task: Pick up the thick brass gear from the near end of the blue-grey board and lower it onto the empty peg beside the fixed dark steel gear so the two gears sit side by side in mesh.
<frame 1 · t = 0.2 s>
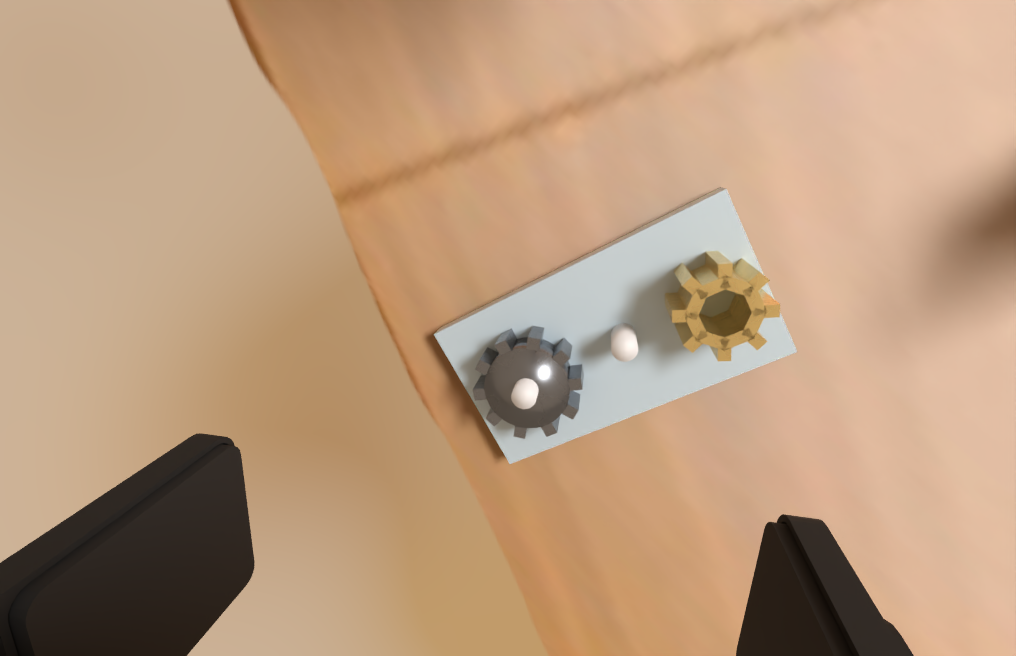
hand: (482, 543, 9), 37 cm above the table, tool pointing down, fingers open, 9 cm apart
brass gear: (711, 295, 41), point 2 cm above the table, touching board
board: (605, 335, 46), on the table
steel gear: (531, 375, 46), resting on board
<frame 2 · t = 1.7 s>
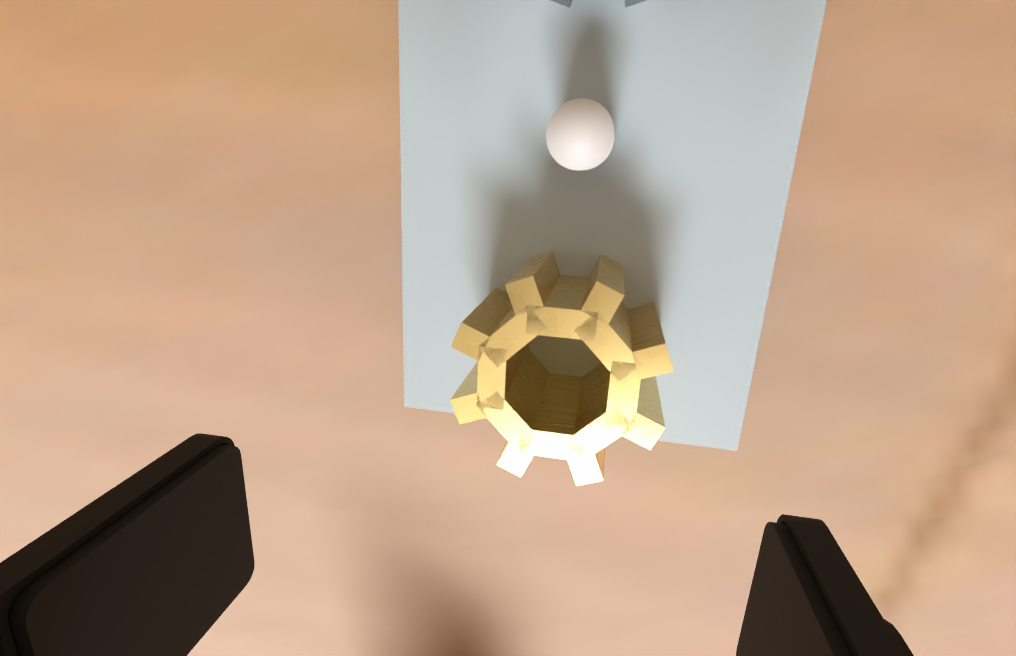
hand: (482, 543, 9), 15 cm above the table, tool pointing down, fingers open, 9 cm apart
brass gear: (569, 337, 21), point 2 cm above the table, touching board
board: (592, 98, 20), on the table
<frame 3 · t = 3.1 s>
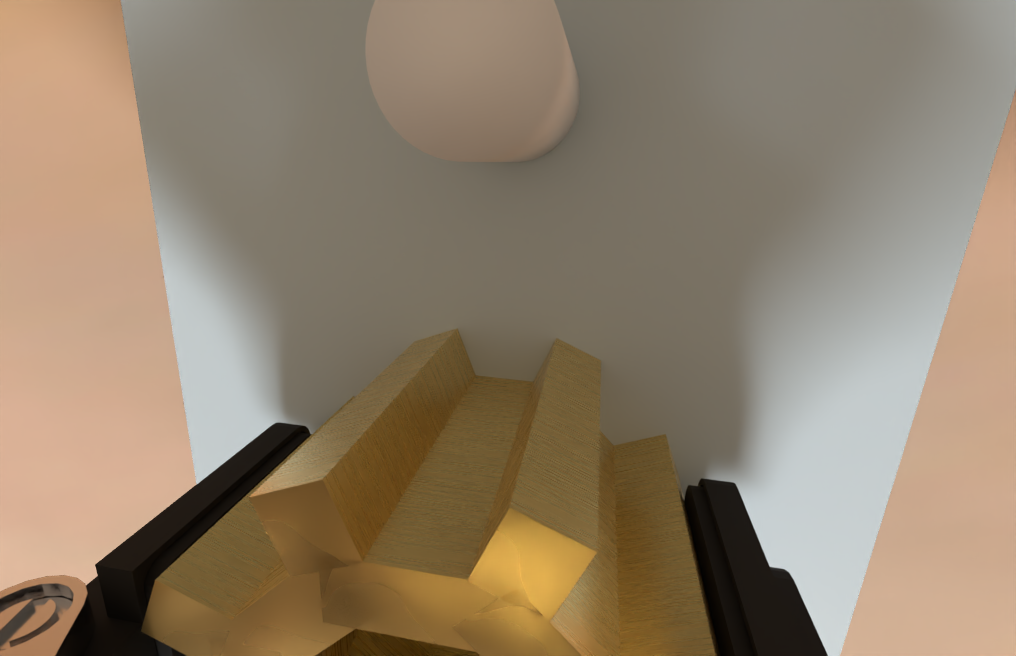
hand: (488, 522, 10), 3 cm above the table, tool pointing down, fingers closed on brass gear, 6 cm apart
brass gear: (498, 491, 11), point 2 cm above the table, touching board, gripper
board: (538, 16, 10), on the table
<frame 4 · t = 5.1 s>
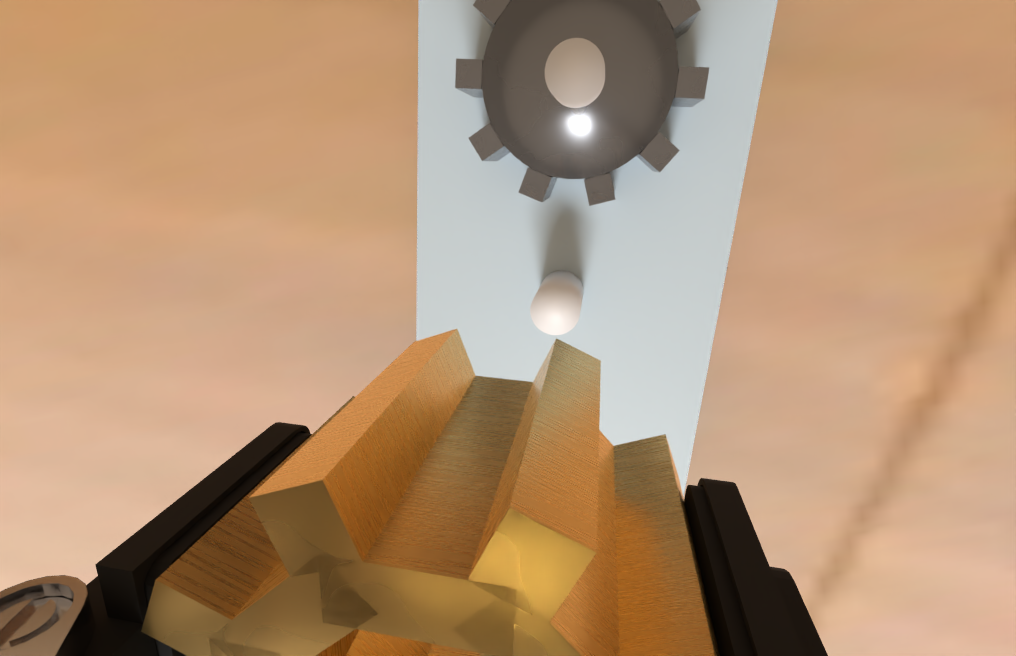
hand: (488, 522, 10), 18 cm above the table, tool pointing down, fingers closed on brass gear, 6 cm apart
brass gear: (498, 492, 11), point 17 cm above the table, touching gripper
board: (567, 250, 26), on the table
steel gear: (580, 89, 22), resting on board
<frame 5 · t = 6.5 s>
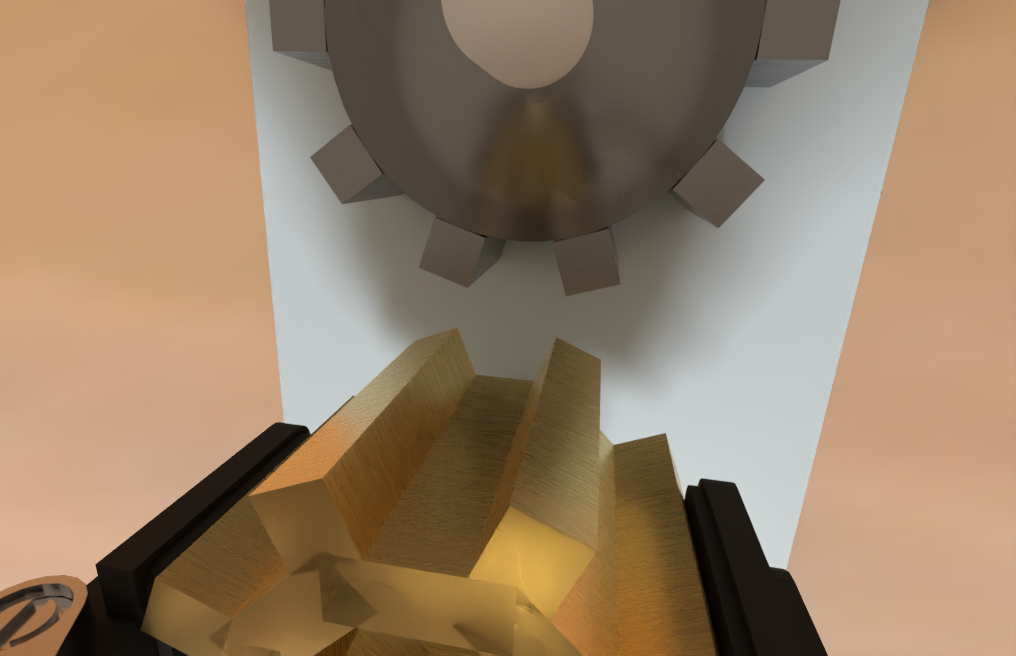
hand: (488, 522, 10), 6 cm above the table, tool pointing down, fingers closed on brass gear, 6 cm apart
brass gear: (498, 491, 11), point 5 cm above the table, touching gripper
board: (539, 339, 15), on the table
steel gear: (549, 56, 11), resting on board
when the fingers open (4 cm above the table, at t = 7.3 s): brass gear drops 1 cm, resting on board.
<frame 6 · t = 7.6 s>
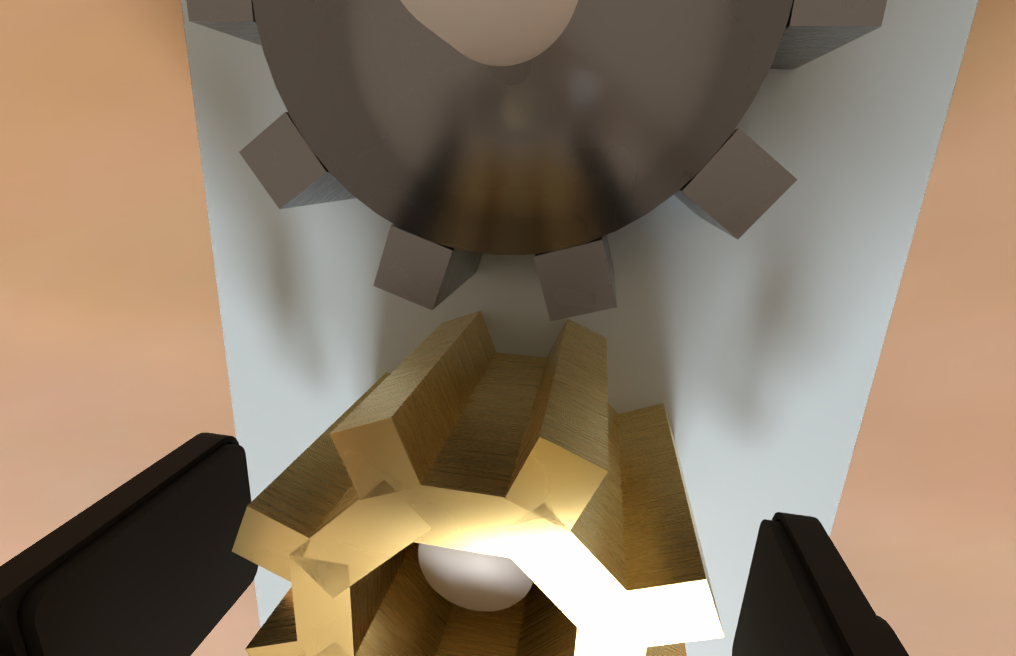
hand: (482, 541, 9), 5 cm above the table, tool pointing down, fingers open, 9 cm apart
brass gear: (515, 457, 12), point 2 cm above the table, touching board
board: (526, 358, 14), on the table
steel gear: (532, 33, 9), resting on board
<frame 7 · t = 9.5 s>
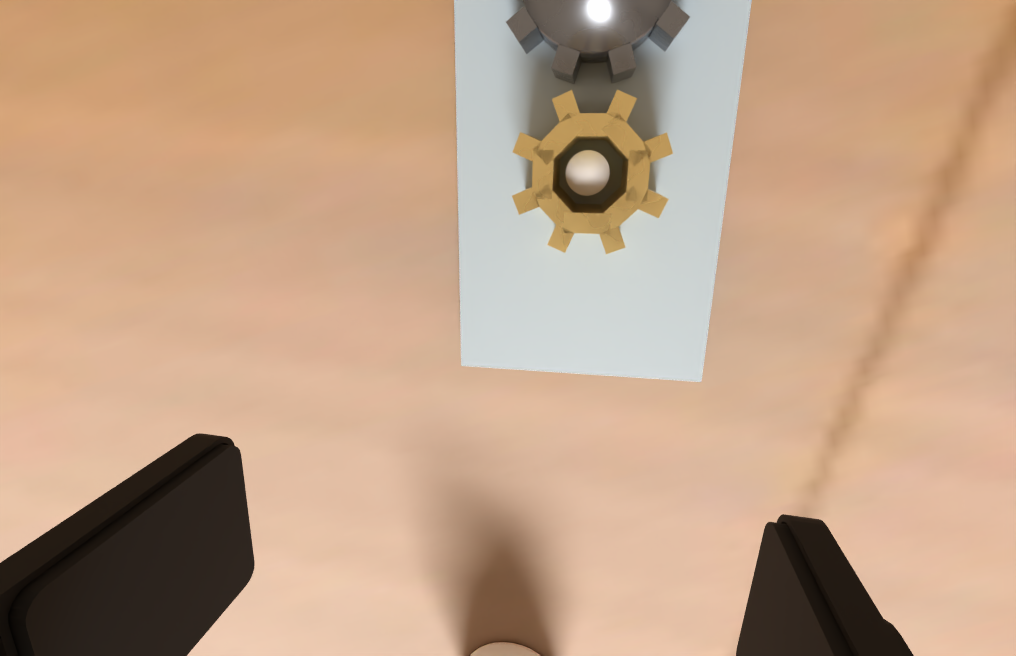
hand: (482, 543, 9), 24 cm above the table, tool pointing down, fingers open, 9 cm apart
brass gear: (590, 172, 28), point 2 cm above the table, touching board
board: (590, 140, 29), on the table
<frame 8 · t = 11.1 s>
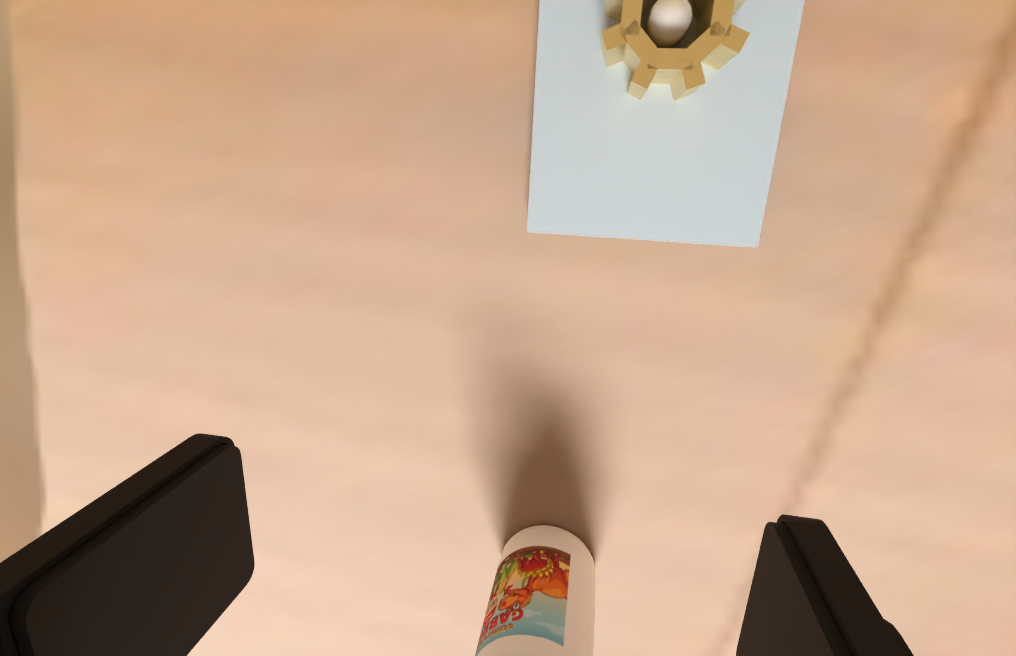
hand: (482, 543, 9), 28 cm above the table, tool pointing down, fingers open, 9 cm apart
brass gear: (665, 34, 29), point 2 cm above the table, touching board
board: (663, 10, 31), on the table
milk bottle: (548, 559, 44), on the table
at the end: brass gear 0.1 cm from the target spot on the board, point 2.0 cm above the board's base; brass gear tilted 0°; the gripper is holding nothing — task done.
